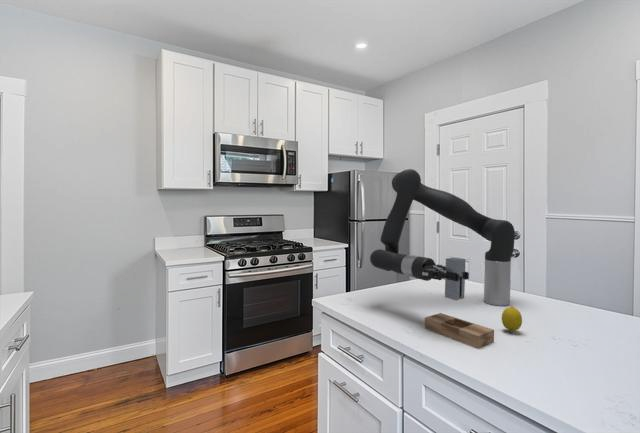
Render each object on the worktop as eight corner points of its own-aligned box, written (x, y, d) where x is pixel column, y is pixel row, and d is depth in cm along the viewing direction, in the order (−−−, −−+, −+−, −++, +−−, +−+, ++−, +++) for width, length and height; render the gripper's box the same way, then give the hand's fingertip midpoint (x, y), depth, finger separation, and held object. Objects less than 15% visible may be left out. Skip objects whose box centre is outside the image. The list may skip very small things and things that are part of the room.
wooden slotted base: (440, 323, 113) (440, 312, 113) (493, 341, 98) (494, 329, 98) (424, 328, 108) (424, 317, 108) (478, 348, 94) (478, 335, 94)
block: (452, 295, 107) (453, 257, 107) (464, 298, 104) (465, 259, 103) (444, 297, 105) (445, 258, 104) (456, 300, 102) (457, 260, 101)
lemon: (524, 336, 103) (525, 309, 102) (504, 334, 104) (505, 308, 103) (517, 329, 108) (518, 304, 108) (498, 328, 109) (499, 303, 109)
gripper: (403, 258, 112) (449, 266, 98) (431, 254, 120) (477, 262, 106) (403, 280, 112) (448, 292, 98) (431, 275, 120) (477, 286, 106)
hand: (463, 276), depth 102 cm, fingers closed on block, 4 cm apart
